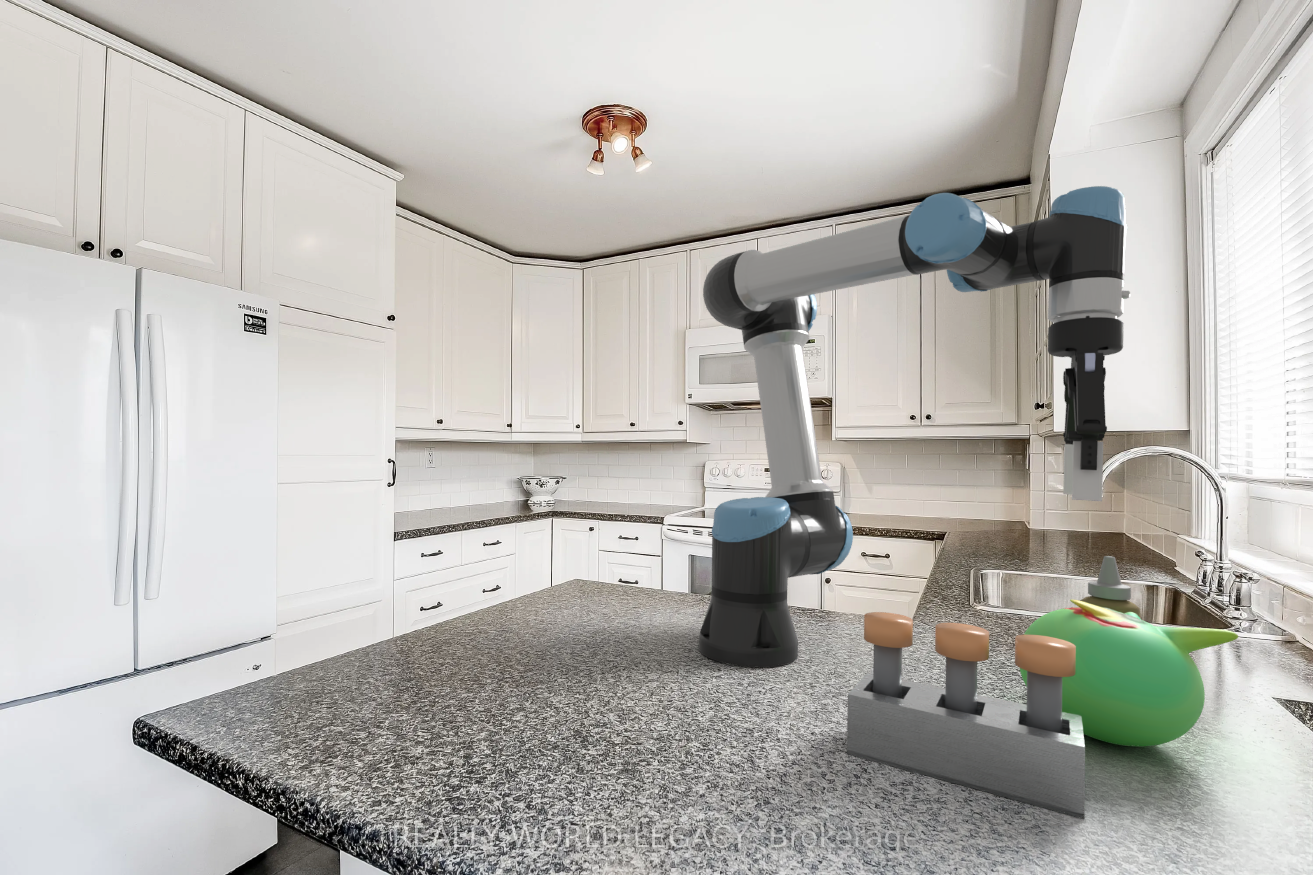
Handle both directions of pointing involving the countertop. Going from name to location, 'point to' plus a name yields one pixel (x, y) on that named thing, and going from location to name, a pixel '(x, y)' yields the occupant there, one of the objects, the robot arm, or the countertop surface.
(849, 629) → the countertop surface
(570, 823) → the countertop surface
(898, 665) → the knob
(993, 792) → the mount
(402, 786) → the countertop surface
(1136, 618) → the toy bird
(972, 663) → the knob middle
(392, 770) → the countertop surface
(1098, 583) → the squeeze bottle
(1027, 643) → the knob
